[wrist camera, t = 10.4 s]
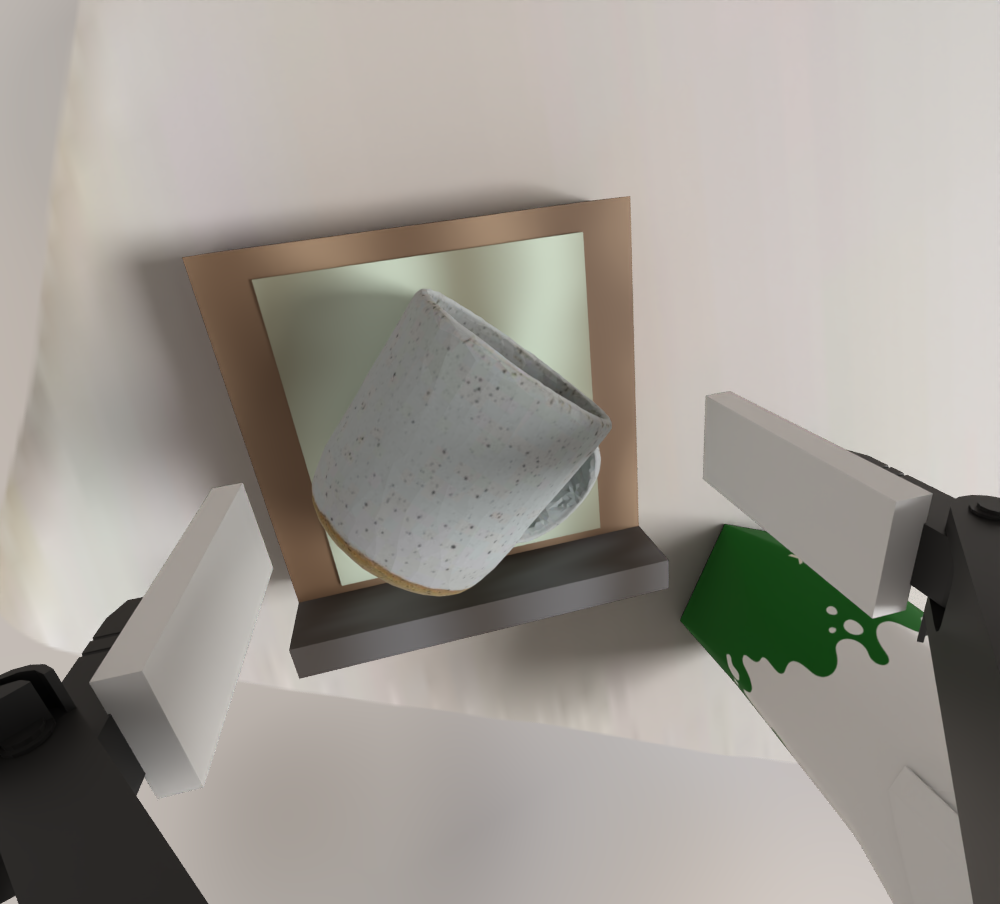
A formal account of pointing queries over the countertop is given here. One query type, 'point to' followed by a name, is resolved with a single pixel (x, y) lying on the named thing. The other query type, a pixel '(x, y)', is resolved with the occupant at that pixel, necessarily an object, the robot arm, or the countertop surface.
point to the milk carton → (841, 705)
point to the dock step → (349, 357)
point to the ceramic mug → (454, 452)
